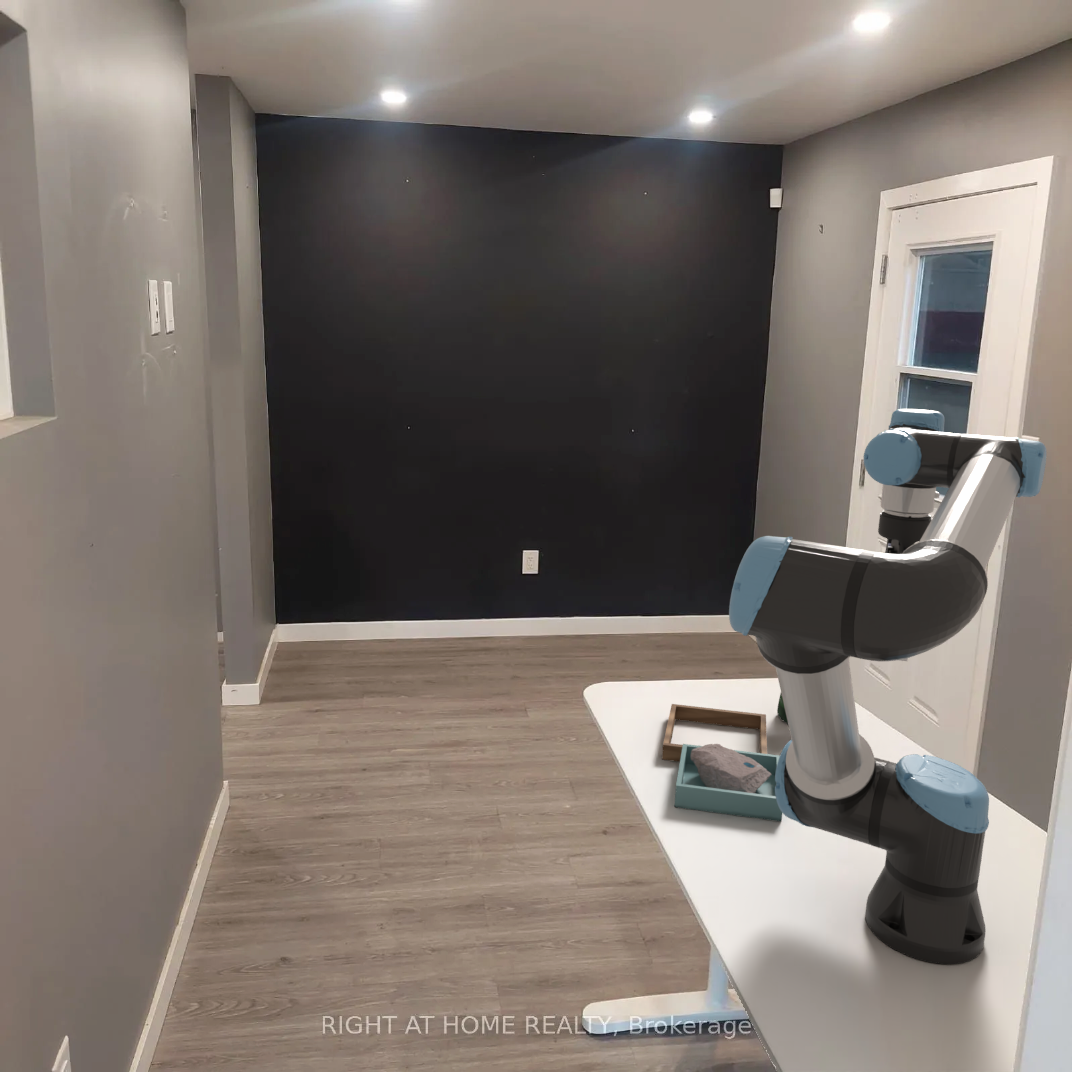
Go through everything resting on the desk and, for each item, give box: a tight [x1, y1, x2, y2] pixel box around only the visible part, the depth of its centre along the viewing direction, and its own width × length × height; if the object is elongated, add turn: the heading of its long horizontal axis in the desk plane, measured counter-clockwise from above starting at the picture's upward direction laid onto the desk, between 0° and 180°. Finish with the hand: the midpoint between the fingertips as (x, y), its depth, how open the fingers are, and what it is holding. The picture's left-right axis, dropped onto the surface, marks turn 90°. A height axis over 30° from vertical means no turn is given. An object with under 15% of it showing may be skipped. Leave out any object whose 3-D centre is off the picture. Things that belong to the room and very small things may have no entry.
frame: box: [661, 703, 768, 763], centre depth 184 cm, size 20×19×3 cm
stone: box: [691, 743, 772, 793], centre depth 166 cm, size 13×10×6 cm
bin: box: [674, 743, 783, 822], centre depth 166 cm, size 17×18×4 cm
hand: (890, 645), depth 148 cm, fingers open, 13 cm apart
